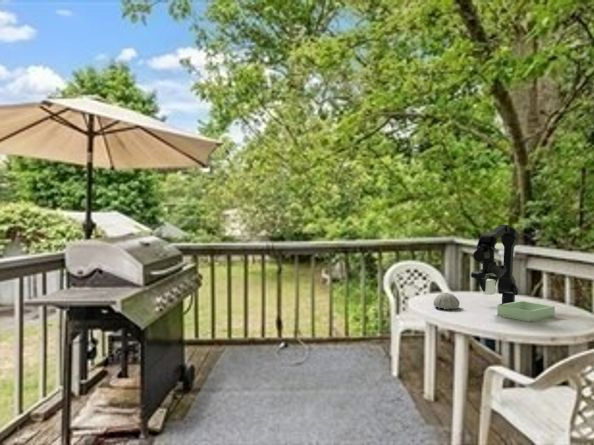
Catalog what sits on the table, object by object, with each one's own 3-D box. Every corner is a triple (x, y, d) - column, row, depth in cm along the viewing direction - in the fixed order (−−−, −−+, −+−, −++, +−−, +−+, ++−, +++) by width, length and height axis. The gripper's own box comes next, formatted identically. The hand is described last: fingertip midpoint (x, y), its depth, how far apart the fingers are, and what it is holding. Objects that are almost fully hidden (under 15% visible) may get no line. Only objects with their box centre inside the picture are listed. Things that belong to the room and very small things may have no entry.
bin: (521, 310, 291) (521, 300, 290) (554, 316, 275) (554, 306, 275) (497, 315, 281) (497, 305, 281) (530, 322, 266) (530, 311, 265)
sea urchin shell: (431, 305, 307) (430, 291, 307) (456, 305, 307) (456, 290, 306) (436, 311, 294) (436, 295, 294) (462, 310, 294) (462, 295, 293)
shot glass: (479, 292, 289) (478, 278, 289) (492, 292, 289) (492, 278, 289) (484, 295, 282) (484, 281, 282) (498, 294, 283) (497, 280, 282)
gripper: (488, 262, 273) (488, 295, 274) (514, 259, 283) (514, 290, 284) (470, 260, 283) (470, 291, 284) (496, 257, 292) (496, 287, 293)
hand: (488, 290), depth 286 cm, fingers closed on shot glass, 6 cm apart
